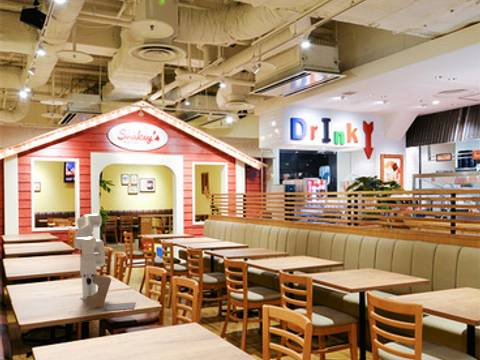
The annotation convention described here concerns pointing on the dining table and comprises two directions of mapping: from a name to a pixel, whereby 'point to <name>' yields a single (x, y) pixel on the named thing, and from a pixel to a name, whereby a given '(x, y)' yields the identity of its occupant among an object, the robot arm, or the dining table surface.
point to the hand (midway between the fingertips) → (89, 284)
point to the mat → (118, 306)
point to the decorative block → (99, 291)
